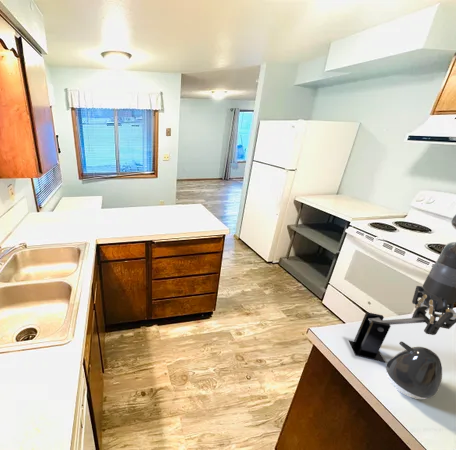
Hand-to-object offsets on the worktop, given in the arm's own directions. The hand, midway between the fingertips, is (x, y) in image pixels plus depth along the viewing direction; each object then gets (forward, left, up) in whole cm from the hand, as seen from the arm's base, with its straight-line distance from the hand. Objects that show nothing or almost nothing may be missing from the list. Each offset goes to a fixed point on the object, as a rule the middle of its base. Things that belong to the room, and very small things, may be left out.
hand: (422, 326), depth 72 cm
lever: (+5, 0, -1) cm, 5 cm away
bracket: (+11, 0, -14) cm, 18 cm away
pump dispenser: (+5, +11, -14) cm, 19 cm away
